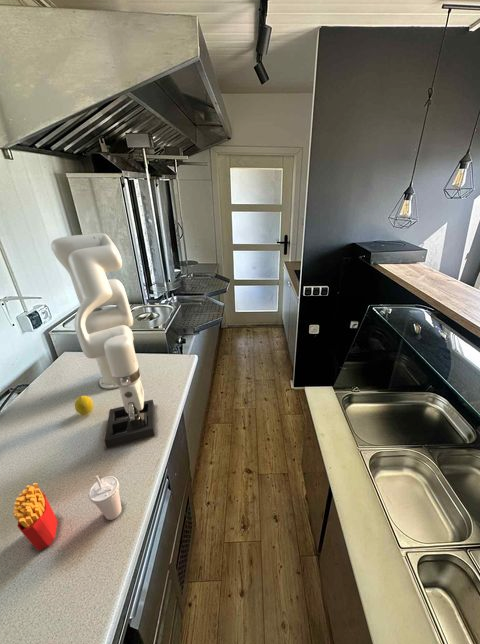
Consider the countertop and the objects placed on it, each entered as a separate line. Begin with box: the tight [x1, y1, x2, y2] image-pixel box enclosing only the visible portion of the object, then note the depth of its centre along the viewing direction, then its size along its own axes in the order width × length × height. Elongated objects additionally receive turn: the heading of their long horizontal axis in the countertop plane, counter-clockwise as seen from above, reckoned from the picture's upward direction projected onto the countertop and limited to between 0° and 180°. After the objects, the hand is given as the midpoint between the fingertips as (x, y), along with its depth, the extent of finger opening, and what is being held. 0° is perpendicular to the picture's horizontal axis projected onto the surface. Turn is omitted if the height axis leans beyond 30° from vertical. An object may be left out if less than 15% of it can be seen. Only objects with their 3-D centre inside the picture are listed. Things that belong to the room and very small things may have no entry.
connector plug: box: [134, 411, 148, 430], centre depth 95 cm, size 4×4×6 cm
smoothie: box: [88, 474, 122, 521], centre depth 70 cm, size 6×6×14 cm
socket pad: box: [103, 399, 156, 449], centre depth 98 cm, size 14×14×4 cm
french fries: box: [13, 482, 58, 551], centre depth 66 cm, size 9×4×13 cm, turn 25°
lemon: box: [74, 395, 94, 416], centre depth 102 cm, size 6×6×8 cm
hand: (138, 417), depth 94 cm, fingers open, 8 cm apart
